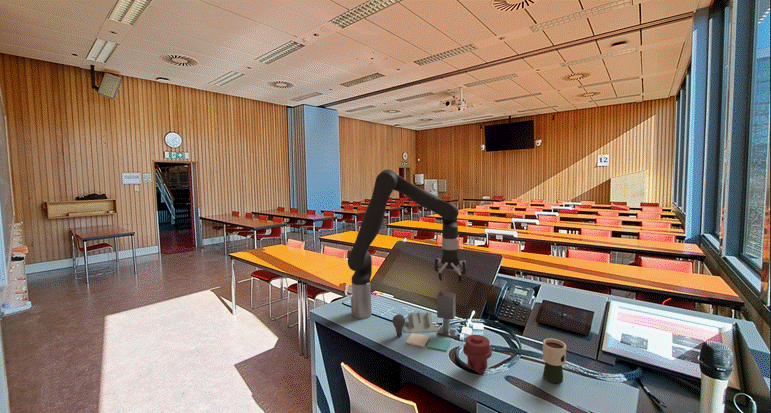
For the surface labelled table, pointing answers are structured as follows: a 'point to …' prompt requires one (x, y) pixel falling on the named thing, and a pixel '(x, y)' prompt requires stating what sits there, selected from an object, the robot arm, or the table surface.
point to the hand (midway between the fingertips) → (450, 281)
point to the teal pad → (439, 344)
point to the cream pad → (417, 339)
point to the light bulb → (398, 324)
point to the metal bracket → (420, 323)
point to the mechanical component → (477, 352)
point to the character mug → (554, 359)
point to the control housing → (446, 312)
